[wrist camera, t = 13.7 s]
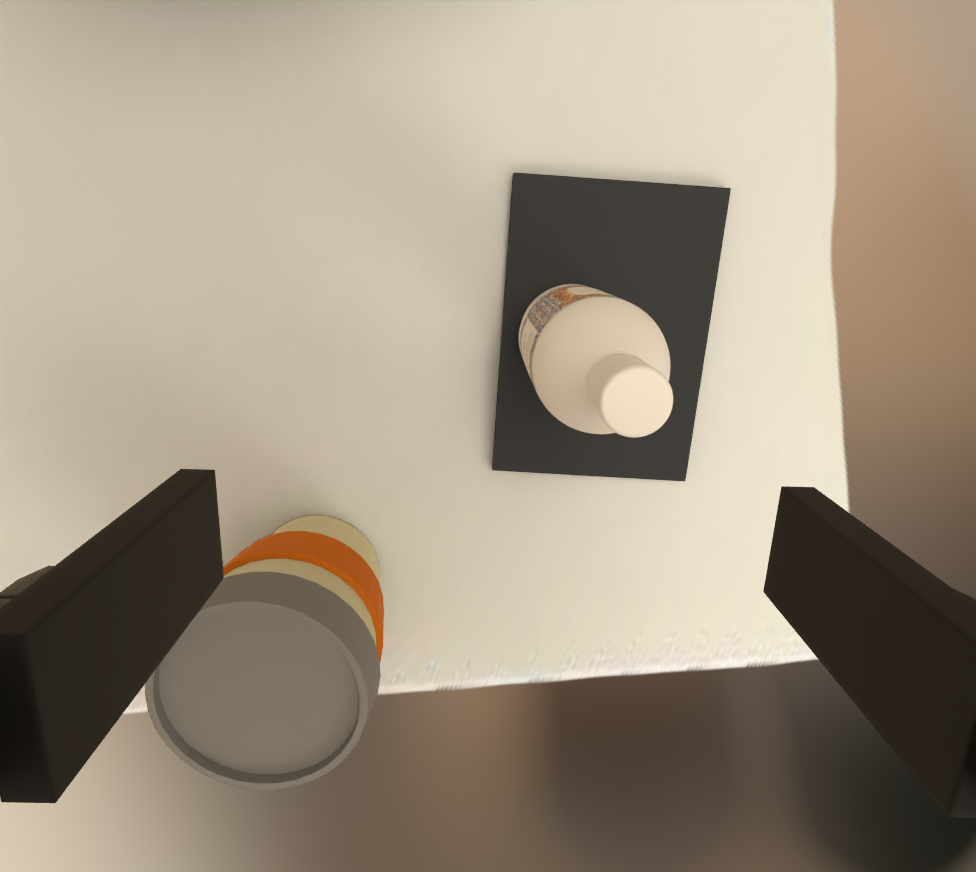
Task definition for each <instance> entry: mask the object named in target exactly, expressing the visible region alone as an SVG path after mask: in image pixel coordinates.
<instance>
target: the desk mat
mask: <svg viewBox="0 0 976 872" xmlns="http://www.w3.org/2000/svg"><path fill="white" fill-rule="evenodd" d="M730 190H731V189H730V188H720V187H706V186H692V185H678V184H664V183H650V182H636V181H623V180H609V179H595V178H581V177H567V176H553V175H539V174H525V173H514V174H513V183H512V197H511V211H510V225H509V239H508V253H507V267H506V281H505V295H504V310H503V324H502V338H501V352H500V366H499V380H498V394H497V408H496V422H495V436H494V450H493V464H492V468H493V470H498V471H516V472H533V473H551V474H569V475H586V476H604V477H621V478H639V479H656V480H674V481H685V478H686V472H687V466H688V459H689V453H690V446H691V440H692V434H693V427H694V421H695V414H696V408H697V402H698V395H699V389H700V382H701V376H702V369H703V363H704V357H705V350H706V344H707V337H708V331H709V325H710V318H711V312H712V305H713V299H714V293H715V286H716V280H717V273H718V267H719V261H720V254H721V248H722V241H723V235H724V228H725V222H726V216H727V209H728V203H729V196H730ZM565 284H579V285H584V286H588V287H591V288H594V289H597V290H600V291H603V292H605V293H608V294H611V295H613V296H616V297H619V298H622V299H624V300H627V301H629V302H631V303H633V304H635V305H637V306H638V307H640V308H641V309H643V310H644V311H645V312H646V313H647V314H648V315H649V316H650V317H651V318H652V319H653V320H654V321H655V323H656V324H657V326H658V327H659V328H660V330H661V332H662V334H663V336H664V338H665V340H666V343H667V346H668V350H669V355H670V377H669V384H670V386H671V389H672V392H673V406H672V410H671V413H670V415H669V417H668V419H667V420H666V422H665V423H664V424H663V425H662V426H661V427H660V428H659V429H658V430H656V431H655V432H653V433H651V434H649V435H646V436H643V437H635V438H633V437H625V436H622V435H619V434H617V433H611V434H592V433H586V432H582V431H579V430H576V429H574V428H571V427H569V426H567V425H566V424H564V423H562V422H561V421H559V420H558V419H557V418H556V417H554V416H553V415H552V414H551V413H550V412H549V411H548V410H547V409H546V408H545V406H544V405H543V404H542V402H541V401H540V399H539V397H538V395H537V393H536V391H535V388H534V386H533V383H532V381H531V378H530V376H529V373H528V371H527V368H526V366H525V363H524V361H523V358H522V355H521V352H520V347H519V329H520V325H521V321H522V319H523V316H524V314H525V312H526V310H527V308H528V307H529V305H530V304H531V303H532V302H533V301H534V300H535V299H536V298H537V297H538V296H539V295H540V294H542V293H543V292H545V291H547V290H549V289H551V288H553V287H556V286H560V285H565Z"/></svg>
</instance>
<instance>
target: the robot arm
mask: <svg viewBox="0 0 976 872" xmlns="http://www.w3.org/2000/svg"><path fill="white" fill-rule="evenodd" d="M223 579H224V575H223V563H222V551H221V539H220V527H219V515H218V503H217V491H216V479H215V470H198V469H180V470H179V471H178V472H176V473H175V474H174V475H172V476H171V477H170V478H169V479H167V480H166V481H165V482H163V483H162V484H161V485H159V486H158V487H157V488H156V489H154V490H153V491H152V492H150V493H149V494H148V495H146V496H145V497H144V498H143V499H141V500H140V501H139V502H137V503H136V504H135V505H134V506H132V507H131V508H130V509H128V510H127V511H126V512H124V513H123V514H122V515H121V516H119V517H118V518H117V519H115V520H114V521H113V522H111V523H110V524H109V525H108V526H106V527H105V528H104V529H102V530H101V531H100V532H98V533H97V534H96V535H95V536H93V537H92V538H91V539H89V540H88V541H87V542H86V543H84V544H83V545H82V546H80V547H79V548H78V549H76V550H75V551H74V552H73V553H71V554H70V555H69V556H67V557H66V558H65V559H63V560H62V561H61V562H60V563H58V564H57V565H56V566H47V567H45V568H43V569H40V570H38V571H36V572H34V573H31V574H29V575H27V576H25V577H23V578H20V579H18V580H17V581H15V582H14V583H13V584H11V585H10V586H9V587H7V588H6V589H5V590H3V591H2V592H0V797H1V802H25V803H56V802H57V800H58V799H59V798H60V796H61V795H62V794H63V792H64V791H65V789H66V788H67V787H68V786H69V784H70V783H71V782H72V780H73V779H74V778H75V776H76V775H77V774H78V772H79V771H80V770H81V768H82V767H83V766H84V764H85V763H86V762H87V760H88V759H89V758H90V756H91V755H92V753H93V752H94V751H95V750H96V748H97V747H98V745H99V744H100V743H101V742H102V740H103V739H104V738H105V736H106V735H107V734H108V732H109V731H110V729H111V728H112V727H113V725H114V724H115V723H116V722H117V720H118V719H119V718H120V716H121V715H122V714H123V712H124V711H125V710H126V708H127V707H128V706H129V704H130V703H131V702H132V700H133V699H134V698H135V696H136V695H137V694H138V692H139V691H140V690H141V688H142V687H143V686H144V684H145V683H146V682H147V680H148V679H149V678H150V676H151V675H152V674H153V672H154V671H155V670H156V668H157V667H158V666H159V664H160V663H161V662H162V660H163V659H164V657H165V656H166V655H167V653H168V652H169V651H170V649H171V648H172V647H173V645H174V644H175V643H176V641H177V640H178V639H179V637H180V636H181V635H182V633H183V632H184V631H185V629H186V628H187V627H188V625H189V624H190V623H191V621H192V620H193V619H194V617H195V616H196V615H197V613H198V612H199V611H200V609H201V608H202V607H203V605H204V604H205V603H206V601H207V600H208V599H209V597H210V596H211V595H212V593H213V592H214V591H215V589H216V588H217V587H218V585H219V584H220V583H221V581H222V580H223ZM764 593H765V594H766V595H767V597H768V598H769V599H770V600H771V602H772V603H773V604H774V605H775V606H776V608H777V609H778V610H779V611H780V613H781V614H782V615H783V616H784V617H785V619H786V620H787V621H788V622H789V624H790V625H791V626H792V627H793V628H794V630H795V631H796V632H797V633H798V635H799V636H800V637H801V638H802V639H803V641H804V642H805V643H806V644H807V646H808V647H809V648H810V649H811V650H812V652H813V653H814V654H815V655H816V657H817V658H818V659H819V660H820V661H821V663H822V664H823V665H824V666H825V668H826V669H827V670H828V671H829V672H830V674H831V675H832V676H833V677H834V679H835V680H836V681H837V682H838V683H839V685H840V686H841V687H842V688H843V690H844V691H845V692H846V693H847V694H848V696H849V697H850V698H851V699H852V701H854V703H855V704H856V705H857V707H858V708H859V709H860V710H861V712H862V713H863V714H864V715H865V716H866V718H867V719H868V720H869V721H870V723H871V724H872V725H873V726H874V727H875V729H876V730H877V731H878V732H879V733H880V734H881V736H882V737H883V738H884V739H885V741H886V742H887V743H888V744H889V746H890V747H891V748H892V749H893V751H894V752H895V753H896V754H897V755H898V757H899V758H900V759H901V760H902V762H903V763H904V764H905V765H906V766H907V768H908V769H909V770H910V771H911V773H912V774H913V775H914V776H915V777H916V779H917V780H918V781H919V782H920V783H921V785H922V786H923V787H924V788H925V790H926V791H927V792H928V793H929V795H930V796H931V797H932V798H933V799H934V801H935V802H936V803H937V804H938V806H939V807H940V808H941V809H942V810H943V811H944V813H945V814H946V815H947V817H972V818H976V599H974V598H972V597H970V596H968V595H966V594H964V593H961V592H959V591H957V590H955V589H953V588H951V587H950V586H948V585H947V584H946V583H944V582H943V581H941V580H940V579H939V578H937V577H936V576H934V575H933V574H932V573H930V572H929V571H928V570H926V569H925V568H923V567H922V566H921V565H919V564H918V563H916V562H915V561H914V560H913V559H911V558H910V557H908V556H907V555H906V554H904V553H903V552H902V551H900V550H899V549H898V548H896V547H895V546H893V545H892V544H891V543H889V542H888V541H886V540H885V539H884V538H882V537H881V536H880V535H878V534H877V533H876V532H874V531H873V530H871V529H870V528H869V527H867V526H866V525H865V524H863V523H862V522H861V521H859V520H858V519H856V518H855V517H854V516H852V515H851V514H850V513H848V512H847V511H845V510H844V509H843V508H841V507H840V506H839V505H837V504H836V503H835V502H833V501H832V500H830V499H829V498H828V497H826V496H825V495H824V494H822V493H821V492H819V491H818V490H817V489H815V488H814V487H781V493H780V499H779V505H778V510H777V516H776V522H775V528H774V534H773V539H772V545H771V551H770V557H769V563H768V568H767V574H766V580H765V586H764Z"/></svg>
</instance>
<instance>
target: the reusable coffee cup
mask: <svg viewBox="0 0 976 872" xmlns="http://www.w3.org/2000/svg"><path fill="white" fill-rule="evenodd" d="M223 575H224V579H223V580H222V581H221V583H220V584H219V585H218V587H217V588H216V589H215V591H214V592H213V593H212V595H211V596H210V597H209V599H208V600H207V601H206V603H205V604H204V605H203V607H202V608H201V609H200V611H199V612H198V613H197V615H196V616H195V617H194V619H193V620H192V621H191V623H190V624H189V625H188V627H187V628H186V629H185V631H184V632H183V633H182V635H181V636H180V637H179V639H178V640H177V641H176V643H175V644H174V645H173V647H172V648H171V649H170V651H169V652H168V653H167V655H166V656H165V657H164V659H163V660H162V662H161V663H160V664H159V666H158V667H157V668H156V670H155V671H154V672H153V674H152V675H151V676H150V678H149V679H148V680H147V682H146V683H145V696H146V702H147V707H148V712H149V714H150V717H151V719H152V721H153V724H154V726H155V729H156V730H157V732H158V733H159V735H160V736H161V738H162V739H163V740H164V742H165V743H166V745H167V746H168V747H169V748H170V749H171V750H172V751H173V752H174V753H175V754H176V755H177V756H178V757H179V758H180V759H182V761H184V762H185V763H187V764H188V765H190V766H191V767H193V768H194V769H195V770H197V771H198V772H200V773H202V774H204V775H206V776H208V777H211V778H213V779H215V780H217V781H220V782H223V783H227V784H230V785H233V786H237V787H243V788H250V789H282V788H287V787H293V786H298V785H301V784H304V783H307V782H309V781H312V780H315V779H317V778H319V777H321V776H322V775H324V774H326V773H327V772H329V771H331V770H332V769H334V768H335V767H336V766H337V765H338V764H339V763H341V762H342V760H344V759H345V758H346V757H347V756H348V755H349V753H350V752H351V751H352V749H353V748H354V746H355V745H356V744H357V742H358V740H359V738H360V736H361V733H362V731H363V728H364V726H365V724H366V721H367V719H368V716H369V713H370V711H371V709H372V706H373V704H374V701H375V699H376V696H377V693H378V687H379V681H380V660H381V654H382V648H383V617H384V608H383V595H382V592H381V588H380V584H379V565H378V560H377V557H376V553H375V551H374V549H373V548H372V546H371V544H370V542H369V541H368V540H367V539H366V537H365V536H364V535H363V534H362V533H361V532H359V531H358V530H357V529H356V528H355V527H353V526H351V525H350V524H348V523H346V522H344V521H342V520H339V519H336V518H333V517H328V516H322V515H319V516H305V517H300V518H297V519H294V520H292V521H289V522H287V523H286V524H284V525H283V526H281V527H280V528H278V529H277V530H276V531H275V532H274V533H273V534H271V535H270V536H267V537H265V538H262V539H260V540H258V541H256V542H255V543H253V544H252V545H250V546H249V547H247V548H246V549H244V550H243V551H242V552H241V553H240V554H238V555H237V556H236V557H235V558H234V559H232V560H231V561H230V562H229V563H228V564H226V565H225V566H224V567H223Z"/></svg>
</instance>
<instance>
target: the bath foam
mask: <svg viewBox="0 0 976 872" xmlns="http://www.w3.org/2000/svg"><path fill="white" fill-rule="evenodd" d="M519 347H520V352H521V355H522V358H523V361H524V363H525V366H526V368H527V371H528V373H529V376H530V378H531V381H532V383H533V386H534V388H535V391H536V393H537V395H538V397H539V399H540V401H541V402H542V404H543V405H544V406H545V408H546V409H547V410H548V411H549V412H550V413H551V414H552V415H553V416H554V417H556V418H557V419H558V420H559V421H561V422H562V423H564V424H566V425H567V426H569V427H571V428H574V429H576V430H579V431H582V432H586V433H592V434H611V433H617V434H619V435H622V436H625V437H633V438H635V437H643V436H646V435H649V434H651V433H653V432H655V431H656V430H658V429H659V428H660V427H661V426H662V425H663V424H664V423H665V422H666V420H667V419H668V417H669V415H670V413H671V410H672V406H673V392H672V389H671V386H670V384H669V377H670V355H669V350H668V346H667V343H666V340H665V338H664V336H663V334H662V332H661V330H660V328H659V327H658V326H657V324H656V323H655V321H654V320H653V319H652V318H651V317H650V316H649V315H648V314H647V313H646V312H645V311H644V310H643V309H641V308H640V307H638V306H637V305H635V304H633V303H631V302H629V301H627V300H624V299H622V298H619V297H616V296H613V295H611V294H608V293H605V292H603V291H600V290H597V289H594V288H591V287H588V286H584V285H579V284H565V285H560V286H556V287H553V288H551V289H549V290H547V291H545V292H543V293H542V294H540V295H539V296H538V297H537V298H536V299H535V300H534V301H533V302H532V303H531V304H530V305H529V307H528V308H527V310H526V312H525V314H524V316H523V319H522V321H521V325H520V329H519Z"/></svg>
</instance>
